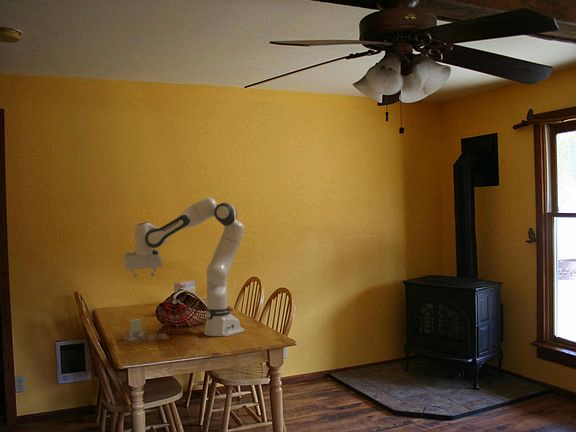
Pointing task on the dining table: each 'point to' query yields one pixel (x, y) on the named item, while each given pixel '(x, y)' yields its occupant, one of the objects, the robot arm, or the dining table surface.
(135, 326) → the slat
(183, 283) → the cracker box
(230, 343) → the dining table surface
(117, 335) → the dining table surface
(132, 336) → the end cap board
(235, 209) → the robot arm
